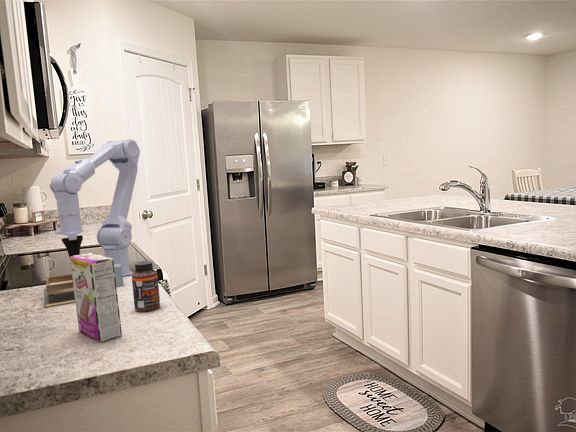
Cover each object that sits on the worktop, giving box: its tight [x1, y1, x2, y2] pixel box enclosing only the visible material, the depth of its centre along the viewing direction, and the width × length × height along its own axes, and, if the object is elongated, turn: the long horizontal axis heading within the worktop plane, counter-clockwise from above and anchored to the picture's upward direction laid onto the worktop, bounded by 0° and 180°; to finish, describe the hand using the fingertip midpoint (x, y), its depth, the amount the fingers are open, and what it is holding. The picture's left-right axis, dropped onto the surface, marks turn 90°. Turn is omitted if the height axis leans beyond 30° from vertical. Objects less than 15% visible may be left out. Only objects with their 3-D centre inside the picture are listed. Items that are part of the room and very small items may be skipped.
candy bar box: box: [68, 252, 123, 343], centre depth 99 cm, size 11×5×16 cm, turn 44°
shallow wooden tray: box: [45, 273, 74, 302], centre depth 131 cm, size 11×11×5 cm
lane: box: [43, 288, 76, 309], centre depth 135 cm, size 22×13×1 cm, turn 27°
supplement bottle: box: [131, 260, 161, 313], centre depth 115 cm, size 6×6×11 cm
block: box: [114, 264, 125, 288], centre depth 141 cm, size 4×4×6 cm
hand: (75, 261), depth 140 cm, fingers closed
